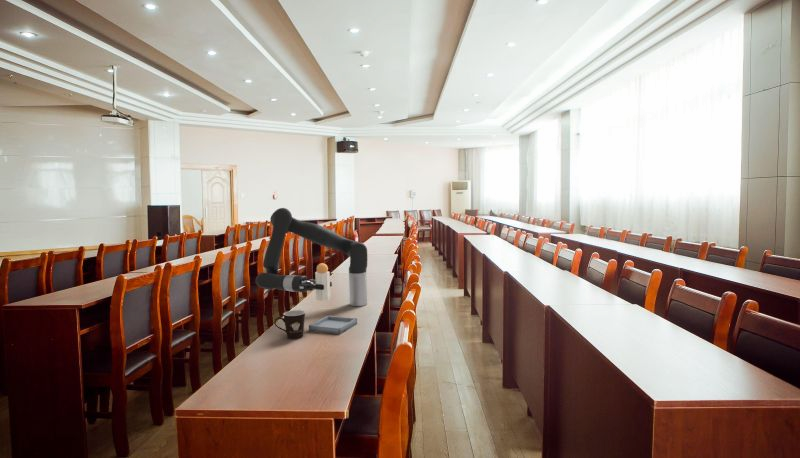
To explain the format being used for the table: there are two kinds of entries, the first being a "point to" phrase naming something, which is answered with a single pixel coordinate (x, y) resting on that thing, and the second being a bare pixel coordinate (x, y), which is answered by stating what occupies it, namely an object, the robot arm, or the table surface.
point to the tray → (333, 324)
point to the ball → (322, 268)
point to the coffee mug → (293, 324)
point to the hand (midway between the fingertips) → (327, 285)
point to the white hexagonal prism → (323, 280)
